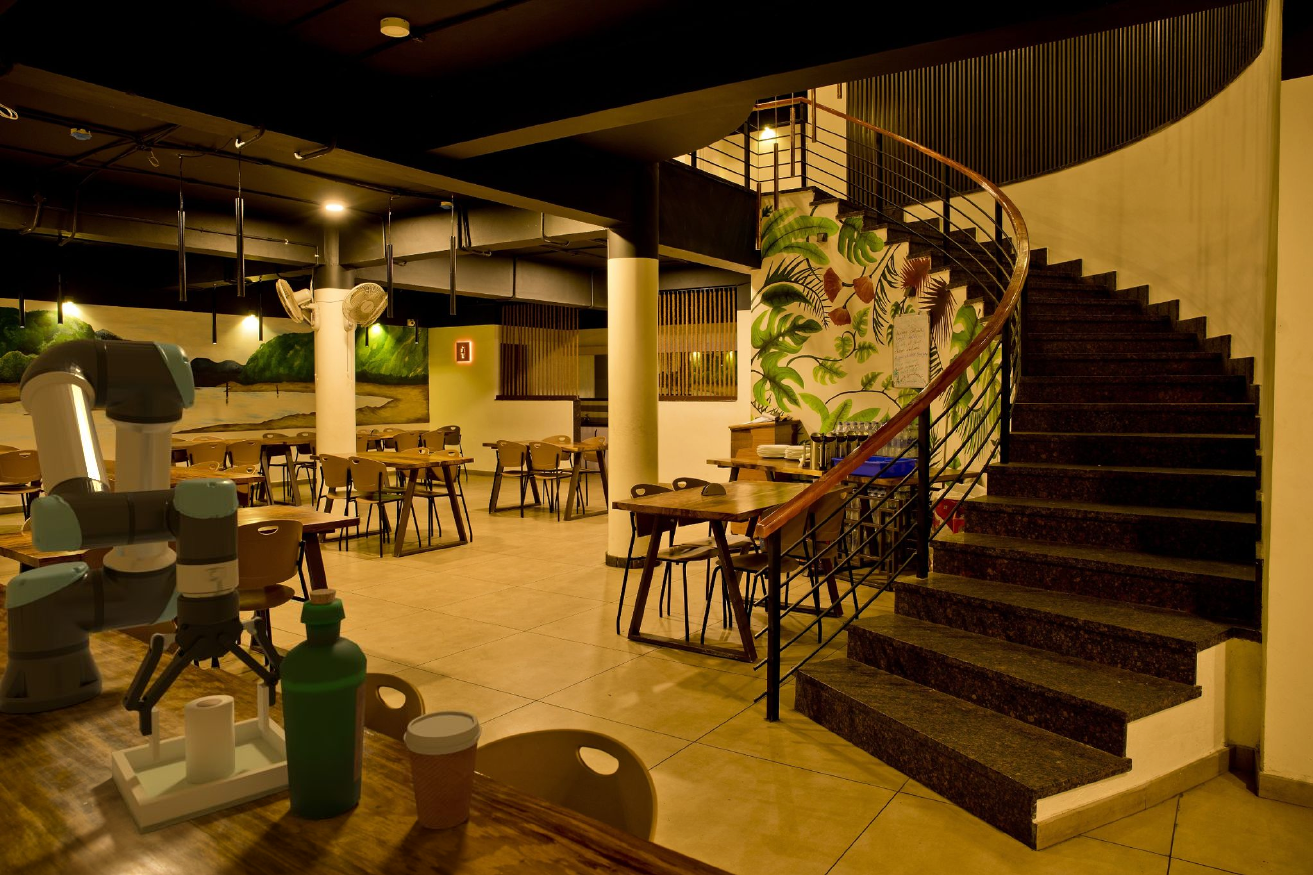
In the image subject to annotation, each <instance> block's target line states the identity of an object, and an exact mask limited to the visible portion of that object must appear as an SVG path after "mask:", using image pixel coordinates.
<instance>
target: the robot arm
mask: <svg viewBox="0 0 1313 875" xmlns="http://www.w3.org/2000/svg"><path fill="white" fill-rule="evenodd" d="M191 366H192V365H191V362H190V360H189V356H188V355H187V353H186V351H185V350H184V348H183V347H182V346H180V345H179V344H175V343H168V342H159V341H155V340H152V341H151V340H148V341H147V340H121V339H119V340H118V339H117V340H116V339H93V338H77V339H70V340H67V341H63V342H60V343H57V344H55V345H53V346H51V347H49V348H47V349H46V350H44V351H43V352H41V353H39V355H37V356H36V357H35V358H34V359H33V360H32V361H31V362H30V363H29V364H28V366H27V367H26V369H25V370H24V372H23V374H22V376H21V379H20V382H19V383H20V384H19V398H20V404H21V406H22V409H24V411H25V412H26V413H27V414H28V415H29V416H31V419H32V420H31V421H32V425H33V426H32V427H33V433H34V438H35V446H36V450H37V456H38V462H39V467H40V468H39V470H40V474H41V479H42V480H41V482H42V487H43V494H44V496H40V497H35V498H34V499H33V500H32V501H31V504H30V513H29V519H30V522H29V524H30V534H31V543H32V546H33V549H35V550H36V551H38V552H40V553H56V552H57V553H58V552H59V553H60V552H61V553H62V552H67V553H72V552H74V553H75V552H78V551H86V550H87V551H88V550H95V549H105V548H112V549H111V550H109V551H108V552H107V553H106V554H105V555H104V556H103V560H102V567H99V568H98V567H97V568H89V565H88V564H87V562H84V561H72V562H61V563H56V564H49V565H45V566H41V567H36V568H34V569H30V570H27V571H24V572H21V573H19V574H17V575H15V576H14V577H12V578H11V579H10V580H9V581H8V582H7V584H6V592H5V603H4V608H5V609H6V633H7V634H6V638H7V639H6V645H7V647H6V648H7V649H6V650H7V661H6V665H5V668H4V671H3V673H2V676H1V679H0V712H2V713H7V714H29V713H30V714H31V713H41V712H47V711H51V710H57V709H62V708H66V707H69V706H74V705H76V704H79V703H83V702H85V701H88V700H90V699H93V698H94V697H96V696H98V695H99V694H101V692H102V691H103V676H102V674H101V671H100V669H99V667H98V665H97V663H96V661H95V658H94V655H93V654H92V652H91V648H90V646H91V645H90V635H92V634H96V633H104V632H110V631H116V630H118V631H119V630H125V629H129V628H130V629H131V628H137V627H143V626H147V627H148V626H155V625H156V624H159V623H166V622H170V621H172V620H174V619H175V618H176V617H177V618H176V620H177V621H176V624H177V626H176V629H175V631H174V633H172V632H171V633H159V632H157V631H155V632H154V631H153V632H152V633H151V634H150V636H149V640H148V641H149V643H148V650H147V652H146V654H145V656H144V658H143V660H142V661H141V663H140V666H139V668H138V669H137V672H136V674H135V676H134V677H133V679H132V681H131V683H130V685H129V687H128V688H127V691H126V693H125V695H124V696H123V698H122V700H121V704H122V706H123V707H124V709H125V710H126V711H127V712H132V711H134V712H135V711H136V712H138V724H139V725H138V727H139V732H140V733H141V735H142V736H143V737H146V736H147V737H148V744H149V755H150V756H151V758H152V760H153V761H155V760H159V759H160V741H161V740H160V711H159V709H158V708H157V707H156V705H157V704H158V702H159V701H160V700H161V698H163V696H164V695H165V693H166V692H167V691H168V690H169V689H170V687H171V686H172V685H173V684H174V682H175V681H176V680H177V679H178V678H179V676H180V674H182V673H183V671H184V670H185V669H186V668H188V666H189V665H191V663H192V662H193V661H198V662H204V661H208V660H210V659H218V658H219V659H220V658H224V657H225V656H226V655H227V654H229V652H230V653H232V654H233V655H234V656H235V657H236V658H237V659H238V660H240V661H241V662H242V663H243V664H244V665H246V666H247V667H248V668H249V669H250V670H252V672H254V673H255V674H256V675H257V676H258V677H260V678H261V679H262V680H263V681H260V682H257V683H256V684H257V685H256V687H257V688H256V691H257V692H256V693H257V695H256V696H257V717H258V728H259V729H260V730H261V731H262V732H263V733H265V732H269V717H270V707H274V706H275V705H276V703H277V692H276V691H277V688H276V686H277V685H278V684H279V681H281V680H280V663H281V662H282V660H283V659H282V657H281V656H280V654H279V652H278V651H277V649H276V647H275V646H274V644H273V642H272V641H271V639H270V638H269V636H268V634H267V632H266V624H265V621H264V620H263V619H262V618H261V617H260V616H257V615H254V616H252V617H251V618H250V619H248V620H245V621H242V620H241V619H240V591H239V590H238V589H236V588H237V587H238V586H239V584H240V583H239V581H240V579H239V576H240V575H239V527H238V526H239V522H238V520H239V514H238V513H239V512H238V511H239V510H238V509H239V506H240V502H239V499H238V493H237V484H236V482H235V481H234V480H232V479H230V478H220V477H207V478H206V477H204V478H203V477H202V478H192V479H185V480H180V481H178V482H177V483H176V484H175V486H174V487H173V488H171V472H172V447H173V446H172V445H173V444H172V443H173V441H172V440H173V427H174V426H176V425H177V424H178V423H180V422H181V421H182V420H183V413H184V412H183V410H188V409H190V408H192V407H193V406H194V404H195V398H196V393H195V382H194V376H193V375H194V374H193V370H192V367H191ZM92 408H93V409H96V408H97V409H99V408H100V409H101V408H102V409H104V408H105V418H106V419H107V420H108V421H110V422H111V423H113V425H114V426H115V452H114V453H115V454H114V491H113V492H112V490H111V485H110V480H109V478H108V473H107V470H106V465H105V462H104V457H103V453H102V449H101V445H100V441H99V437H98V432H97V429H96V425H95V421H94V417H93V413H92ZM169 542H175V550H173V549H172V548H170V547H169ZM244 631H246V632H247V633H248V634H249V635H251V636H253V638H254V639H255V641H256V643H257V644H258V646H259V647H260V649H261V650H262V652H263V653H264V655H265V657H266V658H267V660H268V661H269V663H270V665H271V667H272V668H273V670H271V671H269V670H268V669H267V668H265V667H264V666H263V665H262V664H261V663H260V662H258V660H256V659H255V658H254V657H253V656H251V655H250V653H248V652H247V651H246V650H245V649H244V648H242V647H241V646H240V644H238V643H237V641H238V640H239V638H240V637H241V635H242V634H243V633H244ZM173 643H175V644H176V645H177V646H178V647H179V649H178V651H177V652H176V653H175V654H174V656H173V657H172V660H171V661H170V663H169V664H168V665H167V666H166V668H165V669H164V670H163V671H162V672H161V674H160V675H159V676H158V677H157V679H155V681H154V682H153V683H152V685H151V686H150V687H149V688H148V690H146V688H147V686H148V684H149V682H150V680H151V678H152V676H153V674H154V673H155V670H156V668H157V667H158V664H159V662H160V661H161V658H162V656H163V652H166V651H167V650H168V649H169V648H170V645H171V644H173ZM145 690H146V692H145ZM144 692H145V693H144ZM143 694H144V695H143Z"/></svg>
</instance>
